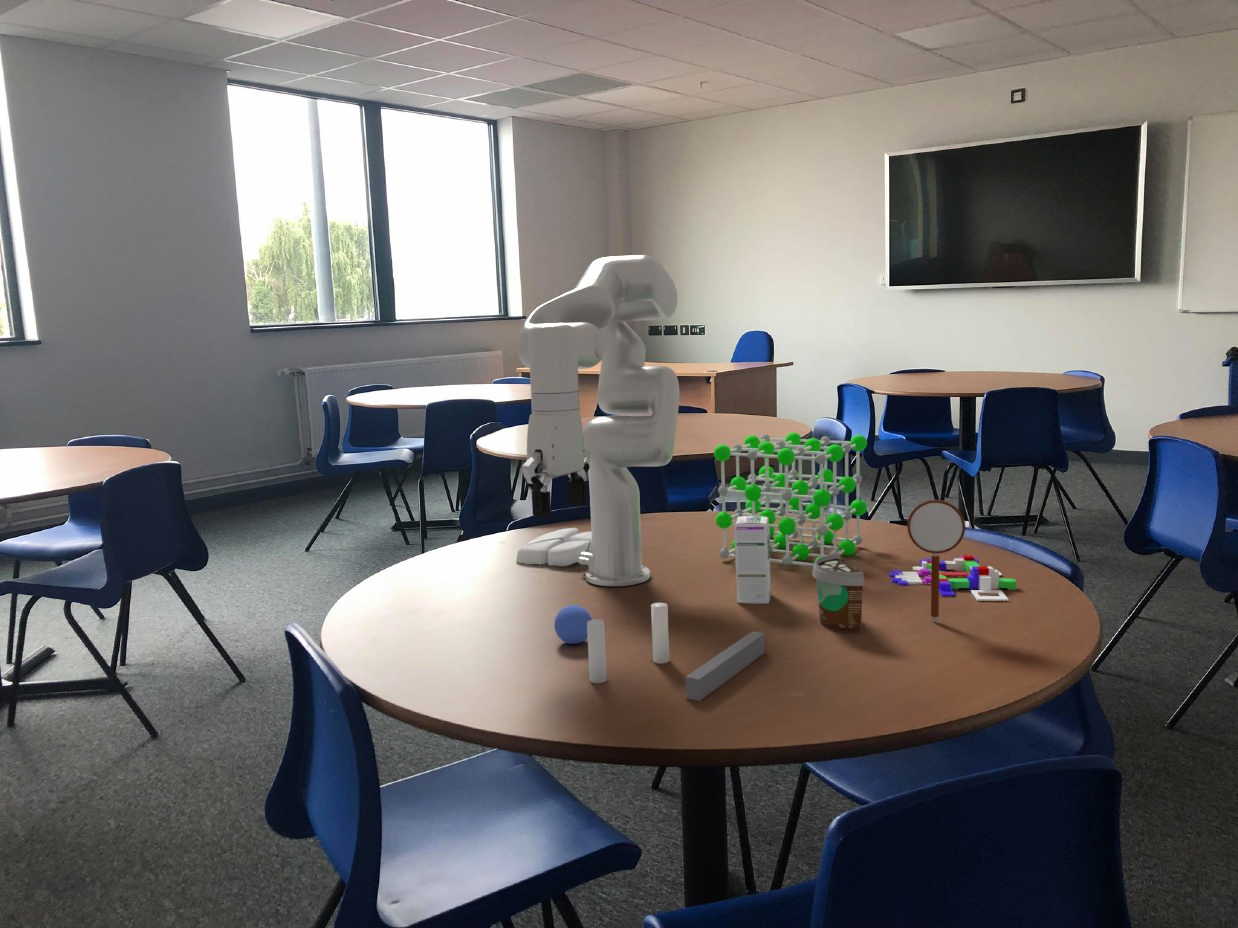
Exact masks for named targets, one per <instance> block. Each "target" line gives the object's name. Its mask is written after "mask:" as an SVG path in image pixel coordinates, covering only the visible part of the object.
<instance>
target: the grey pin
mask: <svg viewBox="0 0 1238 928" xmlns="http://www.w3.org/2000/svg"><path fill="white" fill-rule="evenodd" d="M587 635H588V638H587V650H588V656H587V657H588V672H589V676H588V677H589V682H590V683H592V684H603V683H605V682H607V681H608V680H607V678H608V677H607V659H606V658H607V656H606V633H605V621H604V620H603V619H597V618H596V619H595V618H594V619H592V620H590V621H588V622H587Z"/></svg>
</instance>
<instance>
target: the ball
mask: <svg viewBox="0 0 1238 928" xmlns="http://www.w3.org/2000/svg"><path fill="white" fill-rule="evenodd" d="M590 620H593V619H592V616H591V614H590V612H589V611H588V610H587V609H586V608H584V607H582V606H580V605H577V604H575V605H574V604H572V605H567V606H565V607H563V608H561V609H560V610H559V612H558V613H557V615H556V616H555V618H554V631H555V633H556V635H557V637H558V638H559V639H560V640H562V642H564V643H567V644H570V645H577V644H580V643H581V644H582V643H583V642H584V641H585V640H588V635H587V622H588V621H590Z"/></svg>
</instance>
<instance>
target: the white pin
mask: <svg viewBox="0 0 1238 928" xmlns="http://www.w3.org/2000/svg"><path fill="white" fill-rule="evenodd" d="M668 608H669V607H668V603H665V602H654V603H651V605H650V609H651V610H650V611H651V612H650V613H651V614H650V615H651V637H652V638H651V639H652V661H653V663H655V664H661V665H663V664H668V663H669V662H670V645H669V644H670V643H669V637H670V636H669V616H668V615H669V611H668Z"/></svg>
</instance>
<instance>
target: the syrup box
mask: <svg viewBox="0 0 1238 928" xmlns="http://www.w3.org/2000/svg"><path fill="white" fill-rule="evenodd" d="M734 521H735V523H733V528H734V533H733V534H734V535H733V536H734V539H735V552H734V554H735V557H734V559H735V561H734V563H735V582H736V583H735V585H736V586H735V587H736V588H735V589H736V590H735V591H736V603H740V604H754V605H755V604H756V605H757V604H759V605H760V604H765V605H766V604H767V605H768V604H769V603H770V599H771V594H772V591H771V589H772V587H771V586H772V585H771V581H772V580H771V561H770V559H771V553H770V550H769V521H768V517H766V516H741V517H737V518H735V520H734Z"/></svg>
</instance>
